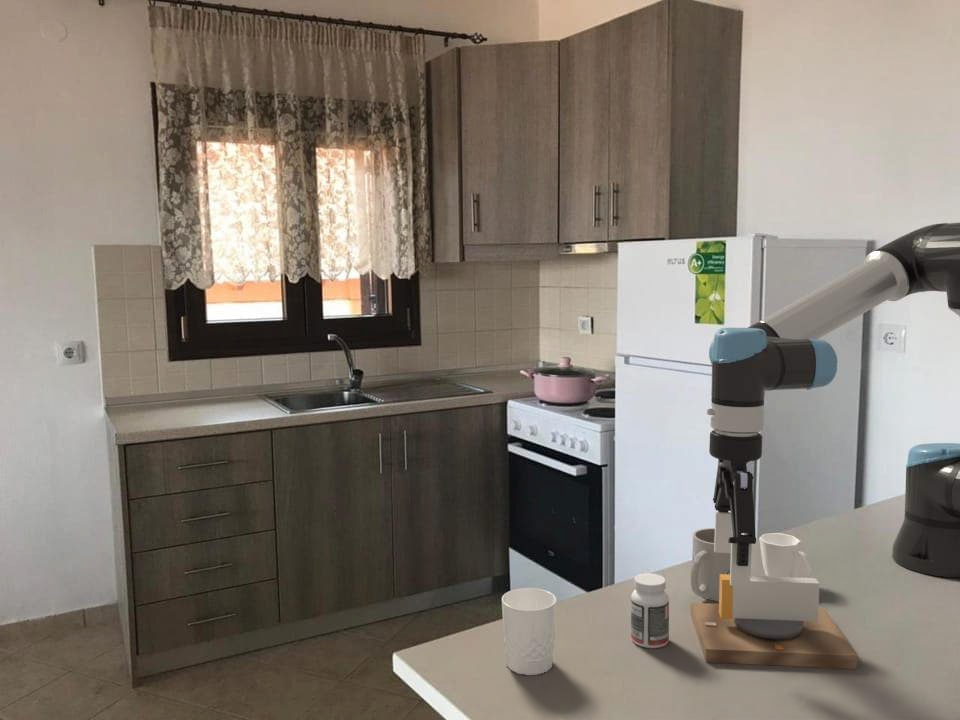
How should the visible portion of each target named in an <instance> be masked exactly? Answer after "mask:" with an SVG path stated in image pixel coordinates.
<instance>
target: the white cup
mask: <svg viewBox="0 0 960 720" xmlns="http://www.w3.org/2000/svg"><path fill="white" fill-rule="evenodd" d="M501 609H502V610H501V611H502V628H503V629H502V630H503V640H504V641H503V642H504V647H505V662H506V666H507V667H508V669H509V670H510V671H511V670H512V672H513V673H516V674H518V675H523V674H524V675H525V676H538V674H539V675H541V673H542V674H544V672H545V673H547V672H549V671H550V669H552V667H553V653H554V648H555V640H556V639H555V637H556V618H557V615H556V614H557V597H556V595H555V594H554V593H552V592H550V591H548V590H545V589H541V588H537V587H536V588H535V587H522V588H516V589H513V590H512V589H511V590H509V591H507V592H506V593H504V594H503V595H502V596H501ZM524 675H523V676H524Z"/></svg>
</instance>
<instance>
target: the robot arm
mask: <svg viewBox="0 0 960 720" xmlns="http://www.w3.org/2000/svg"><path fill="white" fill-rule="evenodd" d="M926 292H940V293H941V292H943V293H944V292H945V293H946V299H947V306H948V309H949V310H950V311H952V312H953V313H954V314H956V315H958V317H960V222H951V223H948V222H947V223H944V222H943V223H936V224H935V223H934V224H930V225H926V226H923V227H921V228H917V229H915V230H912V231H911V232H909V233H906V234H904V235H901V236H899V237H897V238H896V239H894V240H892V241H890V242H888V243H886V244H884V245H883V246H881V247H879V248H877V249H875V250H874V251H871V252H870V253H868V254H867V255H866V256H865V257H864V259H863V263H862V264H860V265H858V266H856V267H854V268H853V269H851V270H850V271H848V272H846V273H844V274H842V275H840V276H839V277H836V278H835V279H833V280H831V281H829V282H827V283H826V284H824V285H822V286H821V287H819V288H817V289H815V290H813V291H811V292H809V293H808V294H806V295H803V297H801V298H799V299H797V300H795V301H794V302H792V303H790V304H788V305H786V306H785V307H782V308H781V309H778V311H775V312H774V313H771V314H770V315H768V316H767V317H764V318H763V319H762V320H758V321H757V322H756V323H754V324H752V325H750V326H748V327H723V328H720V329H718V330H717V331H716V332H715V334H714V337H713V340H712V341H711V343H710V346H709V349H708V358H709V361H710V363H711V395H710V396H711V400H710V401H711V408H708V409H706V414H707V415H708V416H710V428H712V430H711V432H710V433H709V450H708V452H709V454H710V456H711V457H713V458H715V459H718V461H717V463H718V464H717V470H716V478H715V484H714V493H713V497H712V502H713V504H714V509H715V512H714V513H715V515H714V528H715V539H714V552H717V553H731V563H730V585H731V586H748V587H750V576H752V575H751V574H752V573H751V572H752V548H753V547H752V545H756V543H757V537H756V536H757V535H756V525H755V524H756V522H755V519H756V518H755V508H754V507H755V505H754V504H755V503H754V486H753V484H754V474H753V472H752V473H751V472H750V471H748V466H747V465H748V463H749V462H755V461H758V460H760V459H761V457H762V454H763V435H762V434H761V433H760V432H762V431H763V430H764V420H765V419H764V418H765V416H764V415H765V395H766V394H765V393H766V392H767V391H768V392H770V391H777V390H779V391H780V390H781V391H783V390H802V389H803V390H805V389H806V390H811V389H817V388H822V387H826V386H828V385H829V384H831V382H833V380H834V379H835V377H836V374H837V373H838V356H837V353H836V351H835V350H834V347H833V346H832V345H831V344H830V343H829V342H827V341H826V340H824V339H821V338H823V337H824V336H826V335H828V334H829V333H830V334H831V332H833V331H835V330H837V329H838V328H840V327H842V326H844V325H846V324H847V323H849V322H850V321H853V320H854V319H857V318H858V317H860V316H861V315H863V314H865V313H866V312H869V311H870V310H872V309H873V308H876V307H877V306H879V305H881V304H883V303H885V302H886V301H888V302H897V301H901V300H902V299H903V298H905V297H907V296H910V295H912V294H916V293H926ZM905 471H906V472H905V495H904V496H905V498H904V519H903V522H902V524H901V527H900V528H899V531H898V533H897V535H896V537H895V539H894V542H893V545H892V553H891V554H892V556H891V557H892V559H893V560H894V562H895V563H897V564H898V565H899V566H902V567H903V568H906V569H908V570H910V571H915V572H917V573H922V574H925V575H929V574H930V575H931V576H934V575H935V577H941V576H943V578H952V577H960V443H959V442H958V443H953V442H942V443H941V442H936V443H934V442H933V443H921V444H916V445H914V446H912V447H911V448H910V449H909V451H908V454H907V464H906V465H905ZM930 575H929V576H930Z"/></svg>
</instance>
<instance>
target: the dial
mask: <svg viewBox="0 0 960 720" xmlns="http://www.w3.org/2000/svg"><path fill="white" fill-rule="evenodd" d="M819 599H820V582H819V581H818V579H816V577H810V578H806V577H793V576H792V577H768V576H759V575H755V576H754V575H750V587H748V586H731V585H730V575H729V574H720V583H719V601H718V604H719V614H720V617H721V619H732V618H734V623H735V625H736V626H737V627H738V628H739V629H741V630H742V631H744V632H746V633H749V634H751V635H754V636H757V637H762V638H767V639H790V638H794V637H797V636H799V635H800V634H801V633H802V632H803V621H818V608H819V606H820V605H819V604H820V601H819Z"/></svg>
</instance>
